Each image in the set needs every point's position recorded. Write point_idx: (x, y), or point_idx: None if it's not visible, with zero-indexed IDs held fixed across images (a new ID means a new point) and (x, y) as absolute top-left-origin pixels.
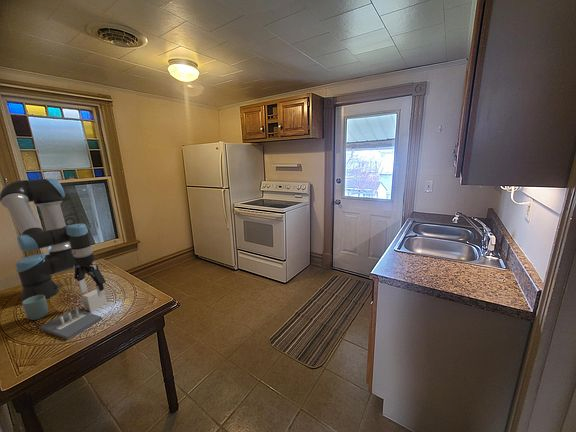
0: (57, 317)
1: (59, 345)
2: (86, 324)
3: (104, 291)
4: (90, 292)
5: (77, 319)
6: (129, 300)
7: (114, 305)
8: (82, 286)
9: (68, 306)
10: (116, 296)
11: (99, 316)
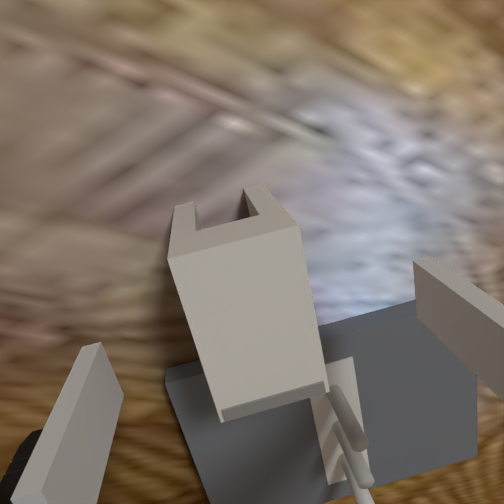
0: (197, 468)
1: (468, 467)
2: (466, 376)
3: (454, 273)
4: (216, 344)
5: (355, 400)
6: (412, 34)
7: (363, 161)
8: (97, 441)
9: (27, 387)
10: (206, 73)
11: None
